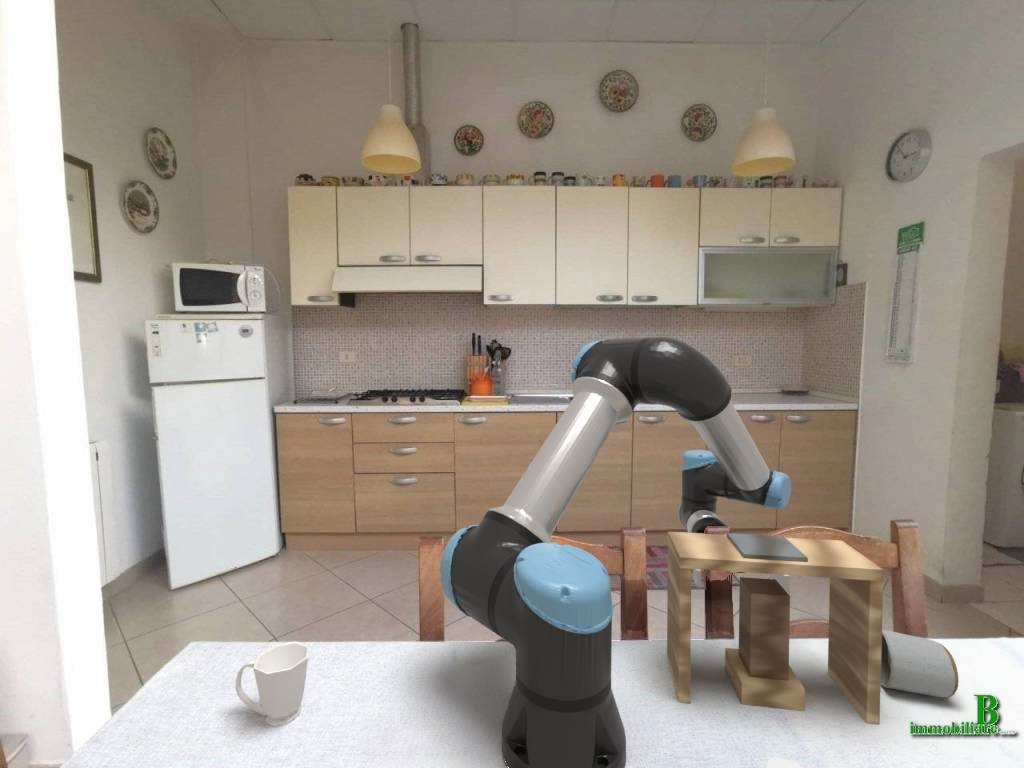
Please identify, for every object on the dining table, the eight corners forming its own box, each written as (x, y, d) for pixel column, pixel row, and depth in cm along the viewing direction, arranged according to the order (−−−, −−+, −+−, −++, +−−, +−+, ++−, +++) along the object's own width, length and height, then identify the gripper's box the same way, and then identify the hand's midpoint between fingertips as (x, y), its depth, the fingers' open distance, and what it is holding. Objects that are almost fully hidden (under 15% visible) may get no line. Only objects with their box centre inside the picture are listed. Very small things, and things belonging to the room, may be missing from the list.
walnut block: (749, 676, 65) (751, 593, 64) (738, 654, 70) (739, 577, 69) (788, 680, 64) (790, 596, 64) (774, 658, 69) (775, 579, 69)
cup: (295, 736, 59) (294, 674, 58) (220, 732, 59) (218, 671, 59) (321, 696, 66) (320, 641, 65) (253, 694, 66) (252, 639, 66)
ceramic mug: (963, 712, 62) (964, 656, 62) (889, 699, 65) (890, 645, 64) (920, 665, 72) (921, 616, 72) (858, 655, 75) (859, 608, 74)
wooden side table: (678, 702, 64) (680, 553, 63) (667, 657, 74) (668, 527, 73) (879, 724, 60) (883, 565, 59) (838, 673, 70) (841, 536, 69)
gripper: (772, 554, 95) (824, 608, 75) (648, 548, 100) (663, 597, 79) (773, 519, 95) (825, 563, 74) (648, 514, 99) (663, 554, 78)
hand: (742, 581), depth 76 cm, fingers open, 13 cm apart
